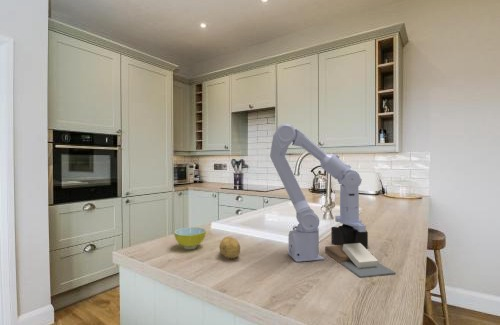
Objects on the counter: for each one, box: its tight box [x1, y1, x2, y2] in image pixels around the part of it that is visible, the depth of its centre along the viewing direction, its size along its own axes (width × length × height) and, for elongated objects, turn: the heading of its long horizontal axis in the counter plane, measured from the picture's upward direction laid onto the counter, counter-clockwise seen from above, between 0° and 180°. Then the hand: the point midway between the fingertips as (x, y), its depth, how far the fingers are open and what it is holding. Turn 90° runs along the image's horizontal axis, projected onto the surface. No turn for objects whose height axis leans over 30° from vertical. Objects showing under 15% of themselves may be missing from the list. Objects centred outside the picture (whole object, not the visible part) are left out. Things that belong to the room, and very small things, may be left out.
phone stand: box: [330, 226, 369, 250], centre depth 102 cm, size 9×6×12 cm
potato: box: [219, 236, 241, 259], centre depth 90 cm, size 7×11×6 cm, turn 10°
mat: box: [340, 261, 397, 279], centre depth 79 cm, size 11×10×1 cm
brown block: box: [324, 245, 352, 264], centre depth 89 cm, size 11×10×2 cm
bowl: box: [173, 226, 207, 251], centre depth 99 cm, size 11×12×6 cm
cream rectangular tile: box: [342, 243, 379, 268], centre depth 83 cm, size 6×9×2 cm, turn 11°
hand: (349, 248), depth 88 cm, fingers closed
